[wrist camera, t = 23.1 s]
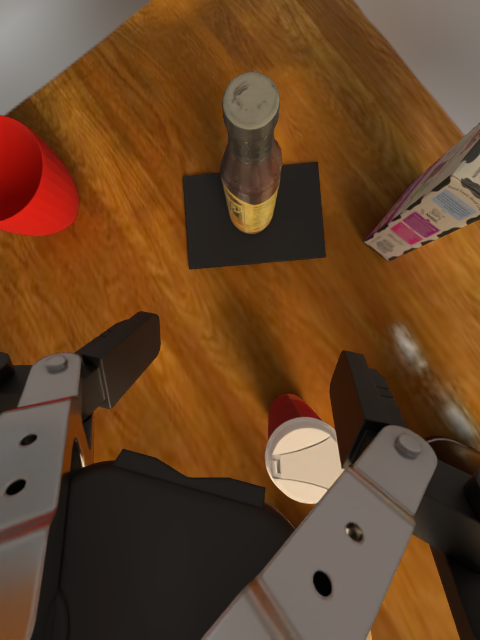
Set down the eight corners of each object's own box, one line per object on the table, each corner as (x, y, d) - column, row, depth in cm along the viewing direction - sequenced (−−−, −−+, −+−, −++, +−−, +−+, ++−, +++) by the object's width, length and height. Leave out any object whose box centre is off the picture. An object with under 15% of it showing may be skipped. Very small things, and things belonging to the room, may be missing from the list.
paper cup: (263, 440, 37) (268, 511, 23) (259, 387, 37) (262, 424, 23) (318, 438, 36) (358, 508, 22) (313, 384, 36) (350, 420, 22)
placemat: (317, 163, 37) (317, 161, 37) (325, 257, 37) (325, 256, 36) (183, 177, 38) (182, 176, 38) (189, 269, 38) (189, 268, 37)
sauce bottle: (226, 200, 37) (194, 58, 18) (267, 190, 37) (283, 35, 17) (235, 243, 37) (213, 148, 17) (277, 233, 37) (303, 126, 17)
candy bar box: (389, 264, 36) (501, 213, 20) (361, 242, 36) (448, 174, 20) (440, 203, 36) (595, 100, 20) (411, 182, 36) (540, 63, 20)
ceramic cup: (-12, 186, 40) (-100, 140, 30) (88, 158, 39) (32, 100, 29) (4, 264, 40) (-80, 244, 30) (106, 238, 39) (54, 207, 29)
